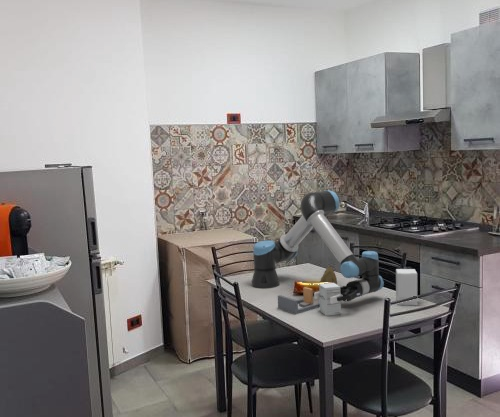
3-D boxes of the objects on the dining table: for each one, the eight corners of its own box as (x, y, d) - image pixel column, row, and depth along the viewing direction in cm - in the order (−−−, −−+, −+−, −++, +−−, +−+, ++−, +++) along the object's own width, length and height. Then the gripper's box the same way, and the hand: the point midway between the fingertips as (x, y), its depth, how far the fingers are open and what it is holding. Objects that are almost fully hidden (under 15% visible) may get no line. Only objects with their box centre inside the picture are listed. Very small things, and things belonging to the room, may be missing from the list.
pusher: (298, 305, 242) (297, 288, 241) (305, 303, 244) (305, 287, 243) (305, 308, 238) (305, 291, 237) (313, 305, 240) (312, 289, 239)
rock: (343, 283, 269) (339, 276, 279) (333, 271, 267) (329, 264, 277) (326, 296, 270) (323, 288, 280) (316, 284, 268) (313, 277, 278)
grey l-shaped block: (278, 308, 239) (277, 295, 238) (308, 299, 250) (308, 287, 250) (295, 314, 229) (295, 301, 228) (326, 305, 241) (326, 292, 240)
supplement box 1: (319, 311, 232) (318, 283, 231) (334, 309, 234) (333, 282, 233) (325, 316, 225) (324, 287, 224) (341, 314, 227) (340, 286, 225)
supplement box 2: (417, 305, 235) (417, 273, 233) (397, 305, 236) (397, 273, 235) (415, 299, 243) (415, 268, 242) (395, 299, 245) (395, 268, 244)
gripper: (376, 301, 231) (341, 312, 218) (339, 291, 248) (305, 301, 235) (375, 284, 230) (341, 294, 217) (339, 276, 248) (305, 285, 234)
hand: (322, 298), depth 226 cm, fingers closed on supplement box 1, 9 cm apart
